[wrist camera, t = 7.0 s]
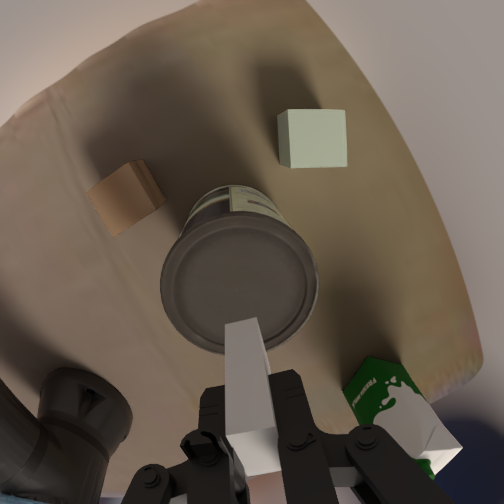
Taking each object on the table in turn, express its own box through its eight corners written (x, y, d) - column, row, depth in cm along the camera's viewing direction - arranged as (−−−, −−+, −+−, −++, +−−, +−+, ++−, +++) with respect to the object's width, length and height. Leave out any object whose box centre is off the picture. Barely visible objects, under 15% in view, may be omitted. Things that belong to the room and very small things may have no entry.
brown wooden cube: (128, 224, 32) (113, 237, 28) (104, 185, 31) (86, 192, 26) (166, 200, 32) (156, 209, 27) (142, 159, 30) (128, 162, 26)
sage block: (279, 164, 32) (290, 168, 26) (276, 115, 30) (287, 109, 24) (326, 162, 32) (347, 166, 26) (324, 115, 30) (344, 110, 25)
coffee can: (190, 281, 35) (171, 360, 22) (182, 187, 32) (149, 217, 18) (283, 276, 36) (314, 351, 22) (283, 182, 32) (323, 209, 19)
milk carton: (365, 349, 40) (432, 462, 21) (410, 360, 42) (477, 455, 23) (334, 395, 42) (378, 508, 23) (379, 402, 44) (429, 499, 25)
